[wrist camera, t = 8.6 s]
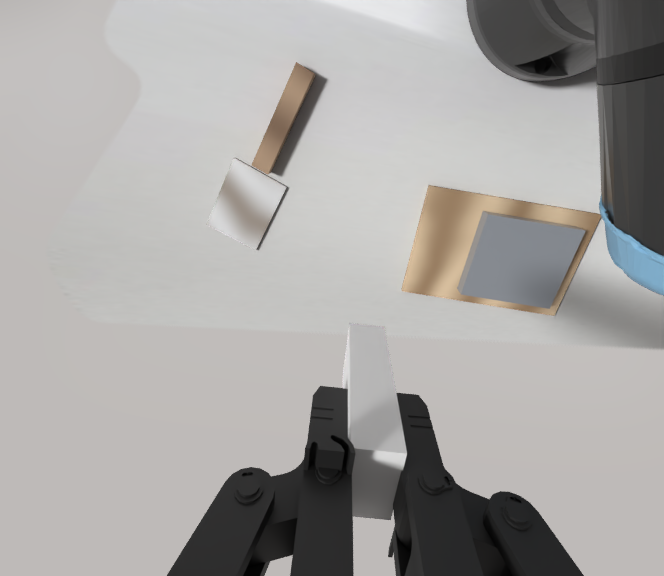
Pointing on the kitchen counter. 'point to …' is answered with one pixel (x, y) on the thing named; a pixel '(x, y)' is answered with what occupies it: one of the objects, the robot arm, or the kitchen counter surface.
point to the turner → (252, 185)
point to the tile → (518, 259)
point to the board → (457, 236)
